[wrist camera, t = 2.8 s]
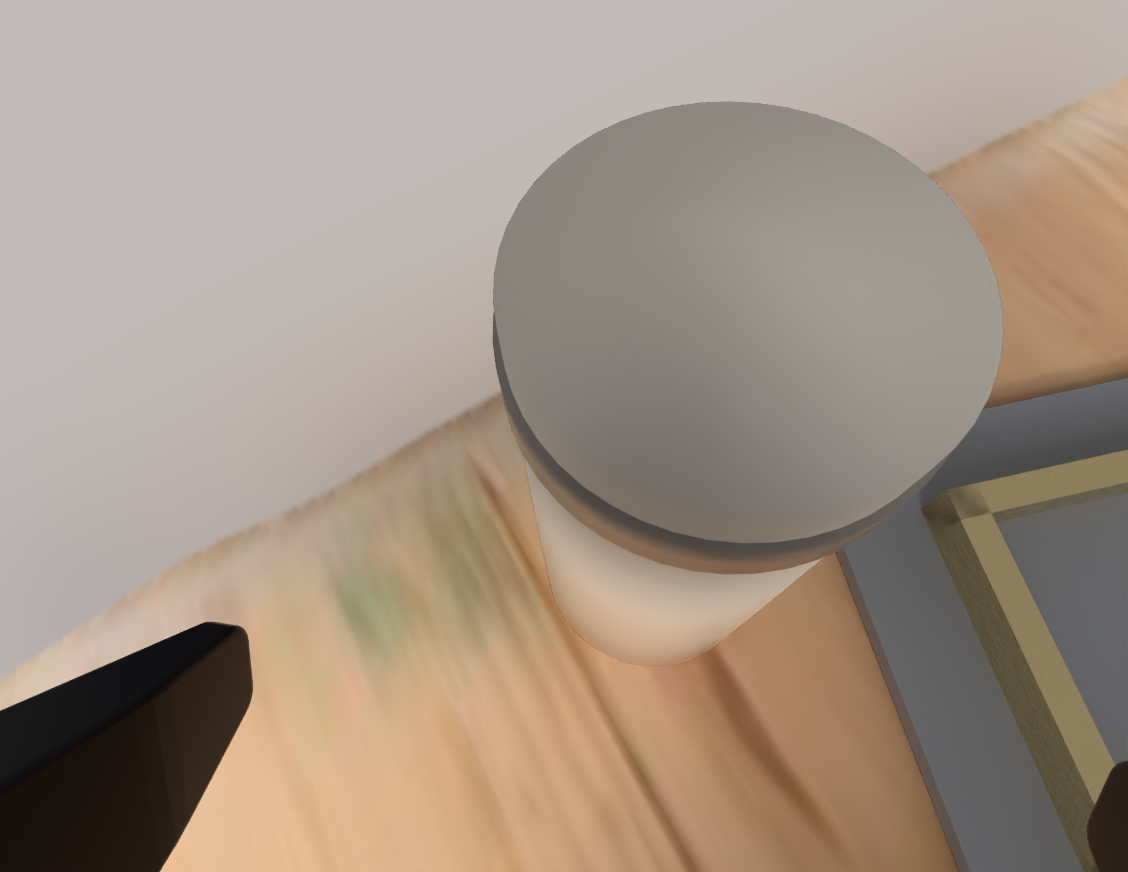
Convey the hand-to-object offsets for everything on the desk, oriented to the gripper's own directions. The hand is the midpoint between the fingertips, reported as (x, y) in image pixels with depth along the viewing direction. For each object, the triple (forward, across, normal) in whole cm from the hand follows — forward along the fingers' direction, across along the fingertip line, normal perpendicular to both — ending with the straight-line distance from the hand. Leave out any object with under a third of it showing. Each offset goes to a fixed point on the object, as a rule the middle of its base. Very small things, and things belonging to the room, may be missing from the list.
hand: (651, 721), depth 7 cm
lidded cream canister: (+11, 0, +4) cm, 12 cm away
